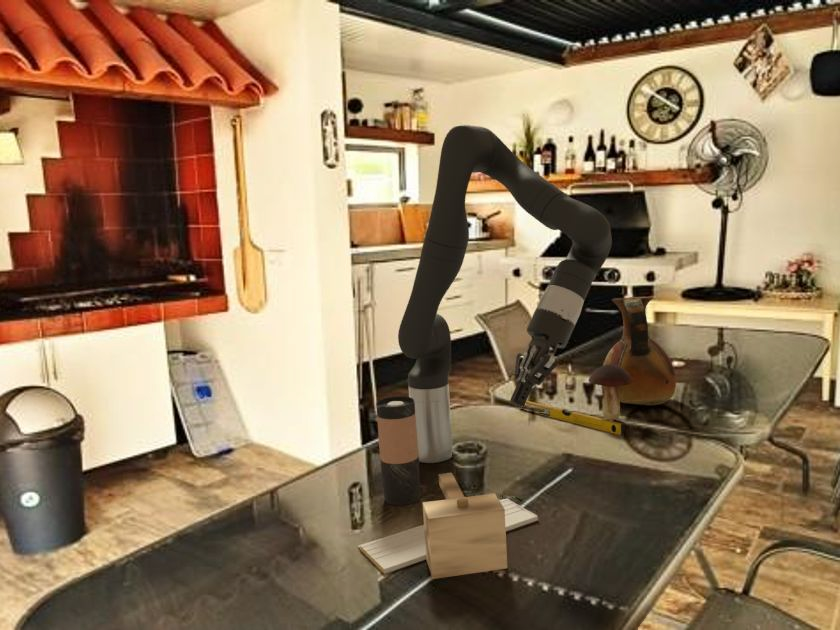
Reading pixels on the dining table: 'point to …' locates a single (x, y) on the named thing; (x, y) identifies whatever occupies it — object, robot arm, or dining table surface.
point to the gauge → (464, 532)
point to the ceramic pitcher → (641, 358)
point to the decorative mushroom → (611, 387)
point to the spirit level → (581, 419)
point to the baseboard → (411, 542)
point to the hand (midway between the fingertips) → (516, 404)
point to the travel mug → (398, 450)
